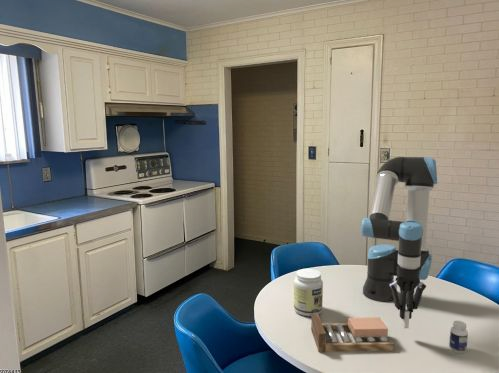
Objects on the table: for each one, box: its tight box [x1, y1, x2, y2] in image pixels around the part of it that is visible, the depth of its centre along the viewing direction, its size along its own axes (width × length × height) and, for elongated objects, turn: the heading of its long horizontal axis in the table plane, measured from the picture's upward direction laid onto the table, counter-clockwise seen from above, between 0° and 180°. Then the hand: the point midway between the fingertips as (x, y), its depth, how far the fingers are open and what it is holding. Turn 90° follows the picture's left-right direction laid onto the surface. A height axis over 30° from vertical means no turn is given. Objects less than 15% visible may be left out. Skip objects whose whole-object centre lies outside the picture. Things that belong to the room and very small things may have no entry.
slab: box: [347, 317, 389, 338], centre depth 140 cm, size 12×8×3 cm, turn 91°
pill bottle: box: [448, 320, 469, 354], centre depth 133 cm, size 5×5×10 cm
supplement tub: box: [293, 268, 324, 317], centre depth 162 cm, size 12×12×17 cm
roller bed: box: [324, 322, 389, 343], centre depth 140 cm, size 11×20×2 cm, turn 91°
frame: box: [310, 313, 395, 353], centre depth 140 cm, size 26×14×7 cm, turn 91°
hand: (404, 326), depth 140 cm, fingers closed
